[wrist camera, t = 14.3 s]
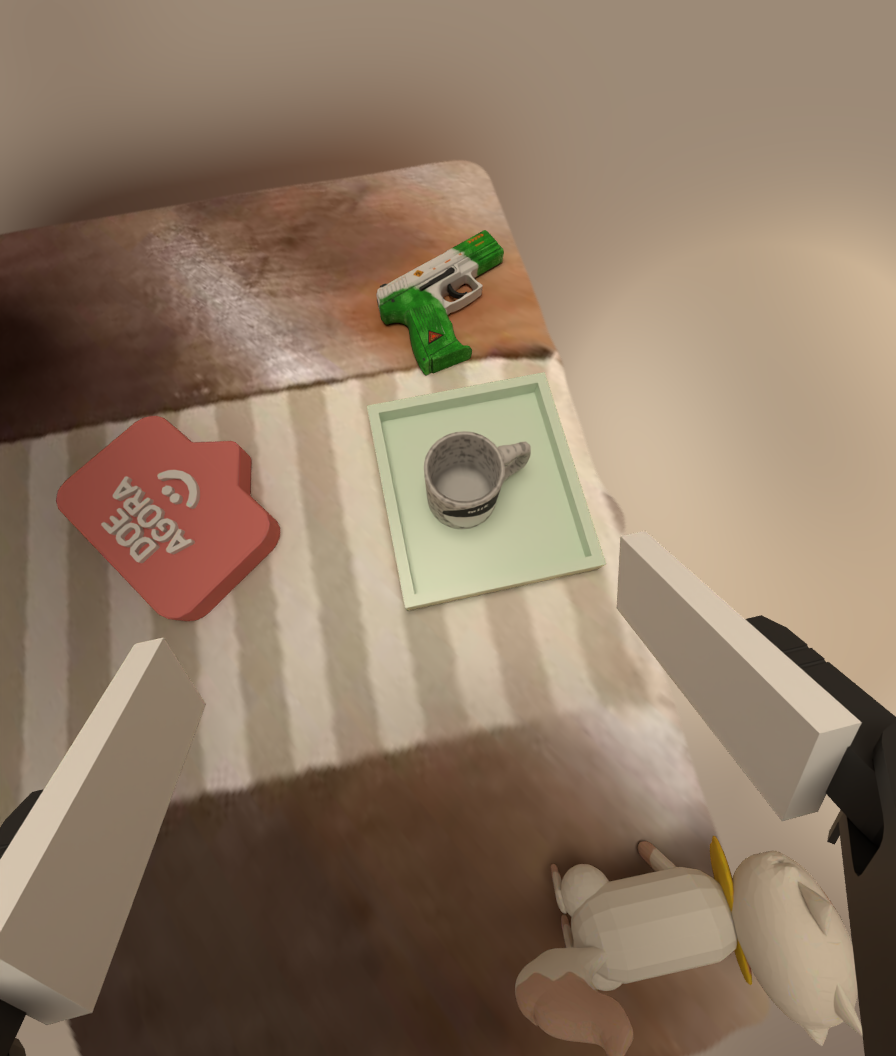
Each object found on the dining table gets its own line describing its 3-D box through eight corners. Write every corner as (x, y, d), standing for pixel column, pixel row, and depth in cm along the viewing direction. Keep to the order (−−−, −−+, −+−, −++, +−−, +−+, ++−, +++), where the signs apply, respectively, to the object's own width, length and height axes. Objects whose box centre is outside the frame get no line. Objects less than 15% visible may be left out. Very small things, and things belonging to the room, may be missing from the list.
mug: (445, 540, 42) (445, 520, 35) (415, 481, 44) (410, 450, 37) (539, 496, 43) (555, 468, 37) (507, 440, 45) (517, 404, 38)
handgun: (551, 296, 48) (483, 222, 50) (429, 369, 45) (364, 287, 47) (544, 316, 51) (481, 245, 53) (429, 386, 48) (368, 308, 50)
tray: (370, 417, 46) (366, 405, 44) (540, 385, 47) (544, 372, 45) (407, 610, 41) (405, 608, 38) (597, 569, 42) (606, 564, 40)
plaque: (300, 500, 40) (167, 629, 37) (312, 513, 44) (193, 631, 41) (171, 384, 43) (40, 494, 40) (193, 405, 47) (74, 507, 44)
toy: (754, 925, 34) (979, 1120, 20) (509, 980, 33) (558, 1228, 19) (714, 794, 37) (888, 883, 22) (485, 842, 36) (512, 967, 21)
